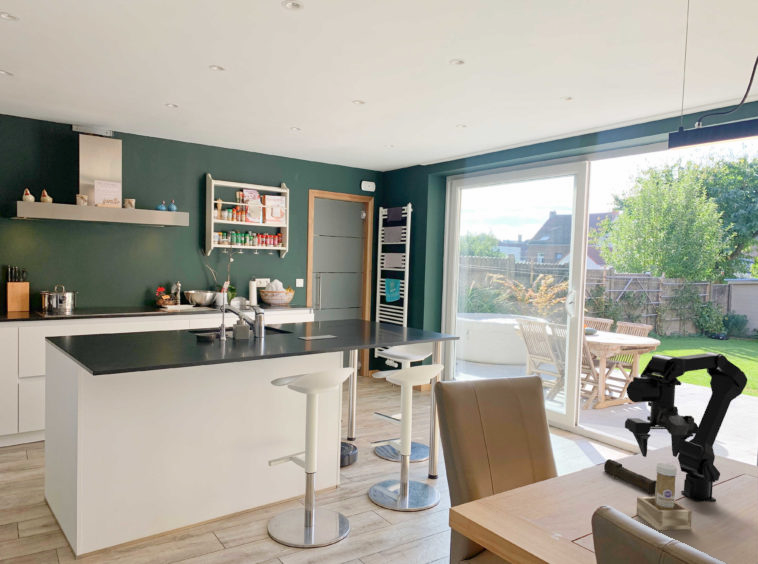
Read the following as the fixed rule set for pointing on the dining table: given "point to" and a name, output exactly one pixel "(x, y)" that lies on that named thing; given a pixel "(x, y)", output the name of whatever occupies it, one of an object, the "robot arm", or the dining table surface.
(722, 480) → the dining table surface
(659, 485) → the sprinkles bottle
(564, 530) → the dining table surface
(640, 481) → the hand tool
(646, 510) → the beech holder
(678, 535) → the dining table surface
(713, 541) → the dining table surface
